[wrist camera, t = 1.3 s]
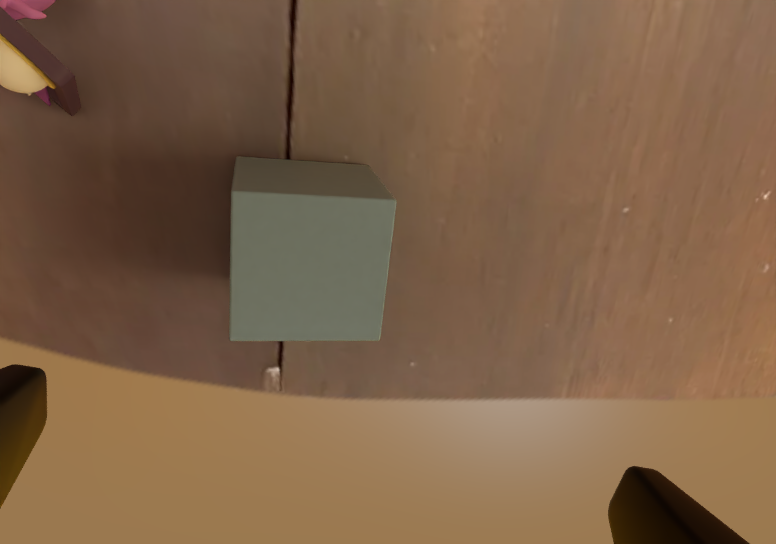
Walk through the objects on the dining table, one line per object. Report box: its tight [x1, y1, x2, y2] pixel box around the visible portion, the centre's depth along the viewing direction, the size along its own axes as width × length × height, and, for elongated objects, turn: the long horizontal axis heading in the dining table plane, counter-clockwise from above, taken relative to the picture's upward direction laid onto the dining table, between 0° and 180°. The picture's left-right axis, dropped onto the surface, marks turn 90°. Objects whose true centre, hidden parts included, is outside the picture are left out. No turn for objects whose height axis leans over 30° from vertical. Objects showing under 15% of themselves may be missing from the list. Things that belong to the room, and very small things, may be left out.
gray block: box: [229, 156, 397, 341], centre depth 19 cm, size 4×4×4 cm
